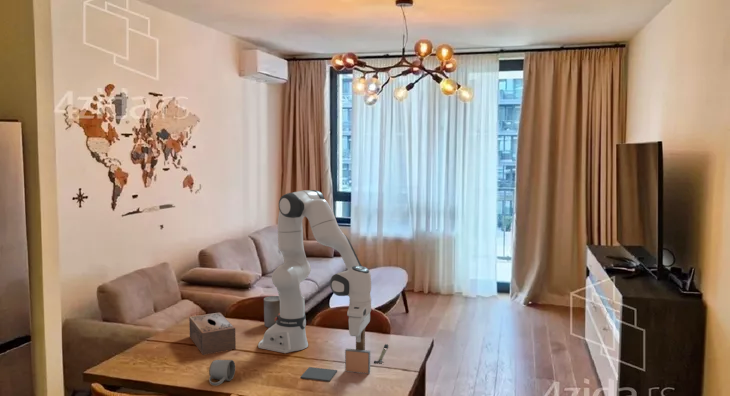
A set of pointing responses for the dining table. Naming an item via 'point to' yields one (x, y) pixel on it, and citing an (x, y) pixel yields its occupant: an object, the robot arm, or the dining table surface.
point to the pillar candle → (271, 310)
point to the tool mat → (319, 374)
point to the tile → (357, 361)
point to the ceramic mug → (221, 371)
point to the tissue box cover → (212, 333)
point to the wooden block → (361, 344)
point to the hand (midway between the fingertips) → (360, 339)
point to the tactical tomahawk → (382, 354)
